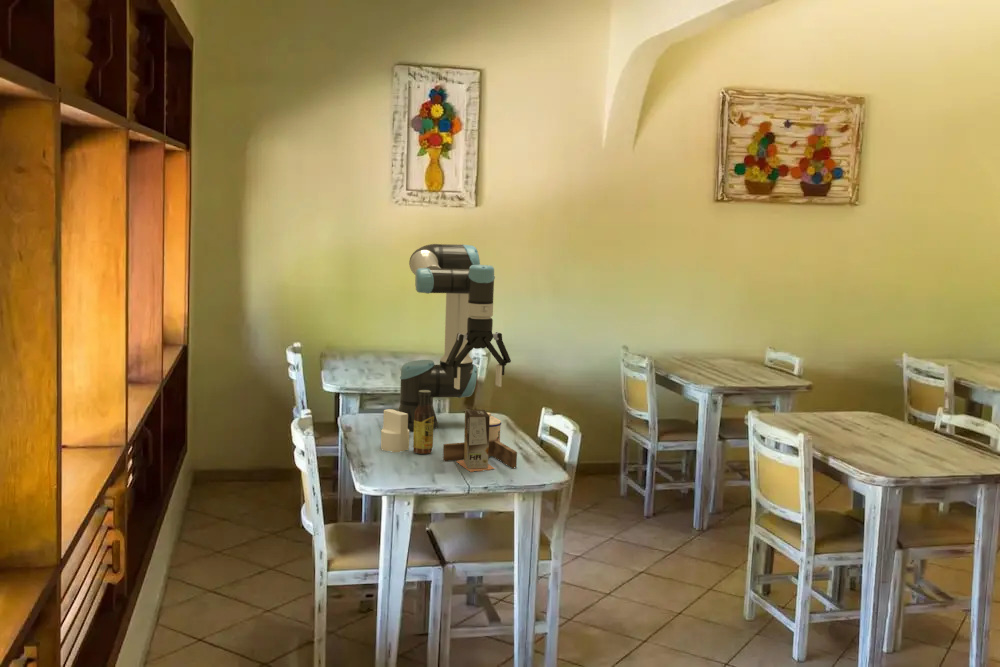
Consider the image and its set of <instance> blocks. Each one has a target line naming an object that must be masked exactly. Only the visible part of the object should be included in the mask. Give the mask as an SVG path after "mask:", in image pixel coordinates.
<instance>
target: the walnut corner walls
mask: <svg viewBox="0 0 1000 667" xmlns="http://www.w3.org/2000/svg"><path fill="white" fill-rule="evenodd" d="M442 447H443V452H442V453H443V454H442V456H443V457H442V460H443V461H444V460H445V461H444V462H449V461H448V460H451V461H459V460H460V459H462V460H464V441H463V442H453V443H443V446H442ZM489 456H494V457H493V458H495V457H496V458H495V459H497V460H498V459H499V460H498V461H500V460H501V461H502V462H501V461H500V462H501V463H503V462H504V463H505V464H504V463H503V464H504V465H506V464H507V465H508V466H507V465H506V466H507V467H509V466H510V467H512V468H511V469H515V468H514V467H516V468H517V464H518V463H517V461H518V459H517V456H518V451H516V450H514V449H513V448H511V447H510V446H508V445H506V444H504V443H503V442H501V440H500V441H498V440H489V451H488V458H490V457H489ZM510 467H509V468H510Z"/></svg>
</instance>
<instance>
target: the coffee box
mask: <svg viewBox="0 0 1000 667" xmlns="http://www.w3.org/2000/svg"><path fill="white" fill-rule="evenodd" d="M487 413H488V412H486V410H485V409H465V410H464V434H463V435H464V436H463V438H464V440H463V442H464V459H463V460H464V462H465V464H466V466H467V467H468V469H474V468H488V464H489V457H488V451H489V423H490V416H489V415H488V414H487Z"/></svg>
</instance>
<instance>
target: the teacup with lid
mask: <svg viewBox="0 0 1000 667" xmlns="http://www.w3.org/2000/svg"><path fill="white" fill-rule="evenodd" d="M486 413H487V414H488V415H489V416H490V423H489V440H498V441H500V442H501V426H502V422H501V420H500V419H499V418H496V417H495V416H492V415H491V412H486Z"/></svg>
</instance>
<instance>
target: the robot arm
mask: <svg viewBox="0 0 1000 667" xmlns="http://www.w3.org/2000/svg"><path fill="white" fill-rule="evenodd" d="M480 260H481V259H480V255H479V252H478V249H477V248H476V246H474V245H469V244H463V243H462V244H448V243H447V244H445V243H444V244H442V243H441V244H439V243H432V244H427V245H423V246H421V247H419V248H417V249H416V250H414V252H412V254H411V255H410V257H409V263H408V264H409V268H410V271H411V273H412V274H413V275H415V276H414V278H415V279H414V280H415V284H414V286H415V291H416V292H418V293H419V294H445V295H446V296H445V318H444V320H445V322H444V324H445V327H444V329H445V330H444V354H443V355H442V356H441V357H440V359H439V364H435V362H434V360H431V359H419V360H412V361H408V362H406V363H404V364H403V365H401V368H400V376H399V379H400V390H399V391H400V393H399V394H400V395H399V406H398V409H397V411H400V412H403V413H407V414H408V429H409V432H414V418H415V410H416V408H417V407H418V405H419V404H418V403H419V395H418V393H419V391H420V390H429V391H431V397H430V403H431V404H430V405H431V408H432V411H433V415H434V425H433V430H435V429H436V428H437V427H438V418H437V414H436V410H435V408H434V398H458V399H461V398H468V397H471V396H472V395H473V393H474V391H475V388H476V384H477V378H478V368H477V365H476V364H474V363H473V361H474V360H473V358H472V357H471V356H470V355H469V353H470V352H471V351H472V350H474V349H477V350H478V349H487V350H488V351H489V352H490V354H491V355H492V356H493V357H494V358H495V360H496V361H497V362H498V363H496V364H495V386H496V387H498V388H502V381H503V380H502V378H503V377H502V376H504V375H505V371H506V370H505V369H506V368H505V366H507V364H509V363H511V362H512V360H511V357H510V354H509V353H508V351H507V349H506V345H505V343H504V342H503V334H502V333H501V332H498V331H496V332H495V333H493V326H494V325H493V322H494V320H493V318H492V317H494V291H495V289H494V288H495V287H494V286H495V278H496V276H495V268H494V266H493V265H488V264H481V261H480ZM492 340H495V342H496V345H497V347H498V349H499V352H498V350H497V349H496V348H495V347H494V345H493V343H491V342H492ZM500 354H501V355H500Z"/></svg>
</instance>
